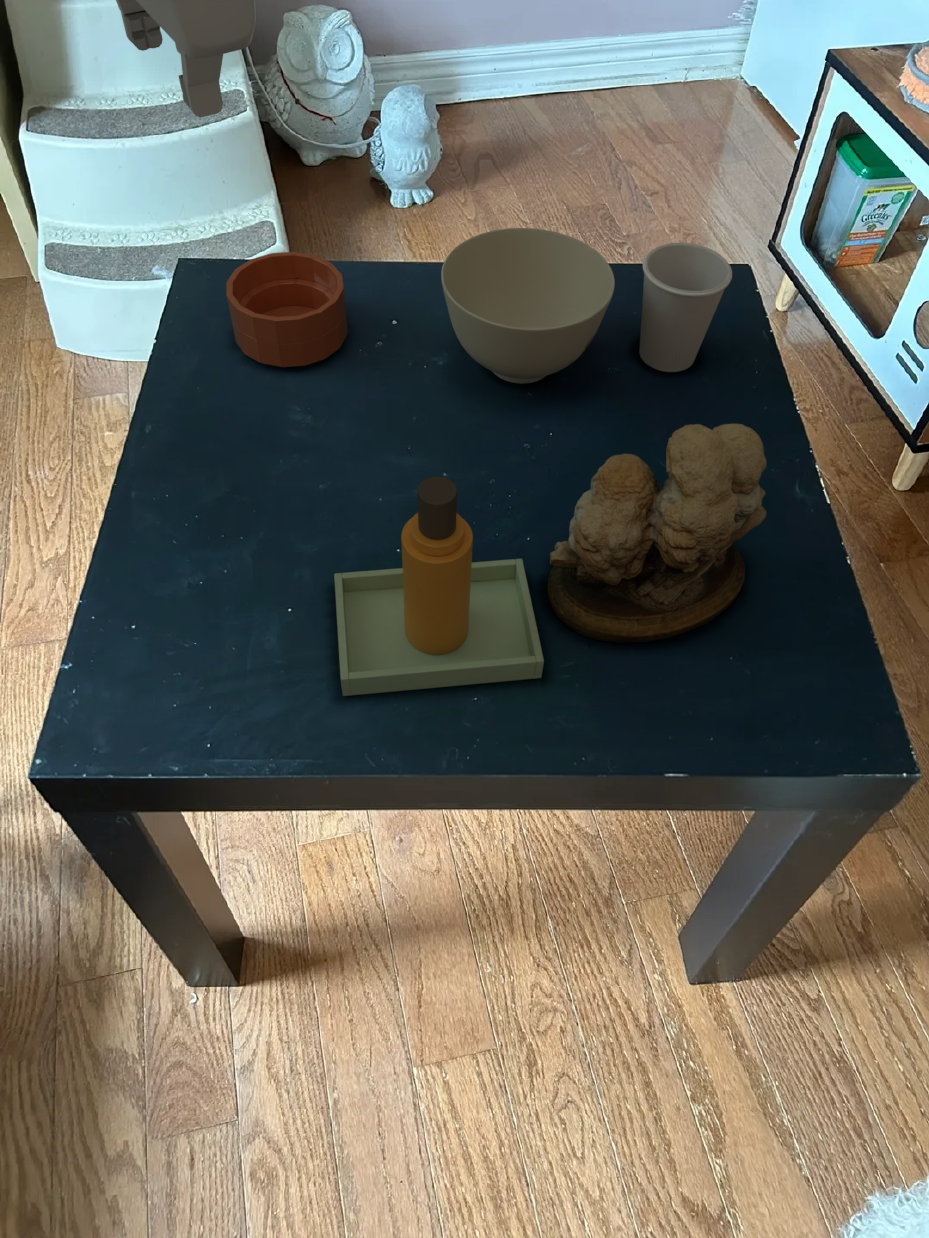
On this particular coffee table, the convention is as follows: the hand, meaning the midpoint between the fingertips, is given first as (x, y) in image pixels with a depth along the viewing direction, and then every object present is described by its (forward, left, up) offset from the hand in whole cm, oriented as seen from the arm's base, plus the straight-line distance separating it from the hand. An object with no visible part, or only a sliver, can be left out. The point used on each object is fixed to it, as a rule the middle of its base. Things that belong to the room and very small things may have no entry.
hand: (174, 76), depth 57 cm
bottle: (+6, -21, -35) cm, 41 cm away
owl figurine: (+24, -25, -35) cm, 49 cm away
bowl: (+30, +4, -35) cm, 46 cm away
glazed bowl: (+12, +19, -35) cm, 42 cm away
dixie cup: (+44, -2, -35) cm, 56 cm away
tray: (+6, -21, -35) cm, 41 cm away
